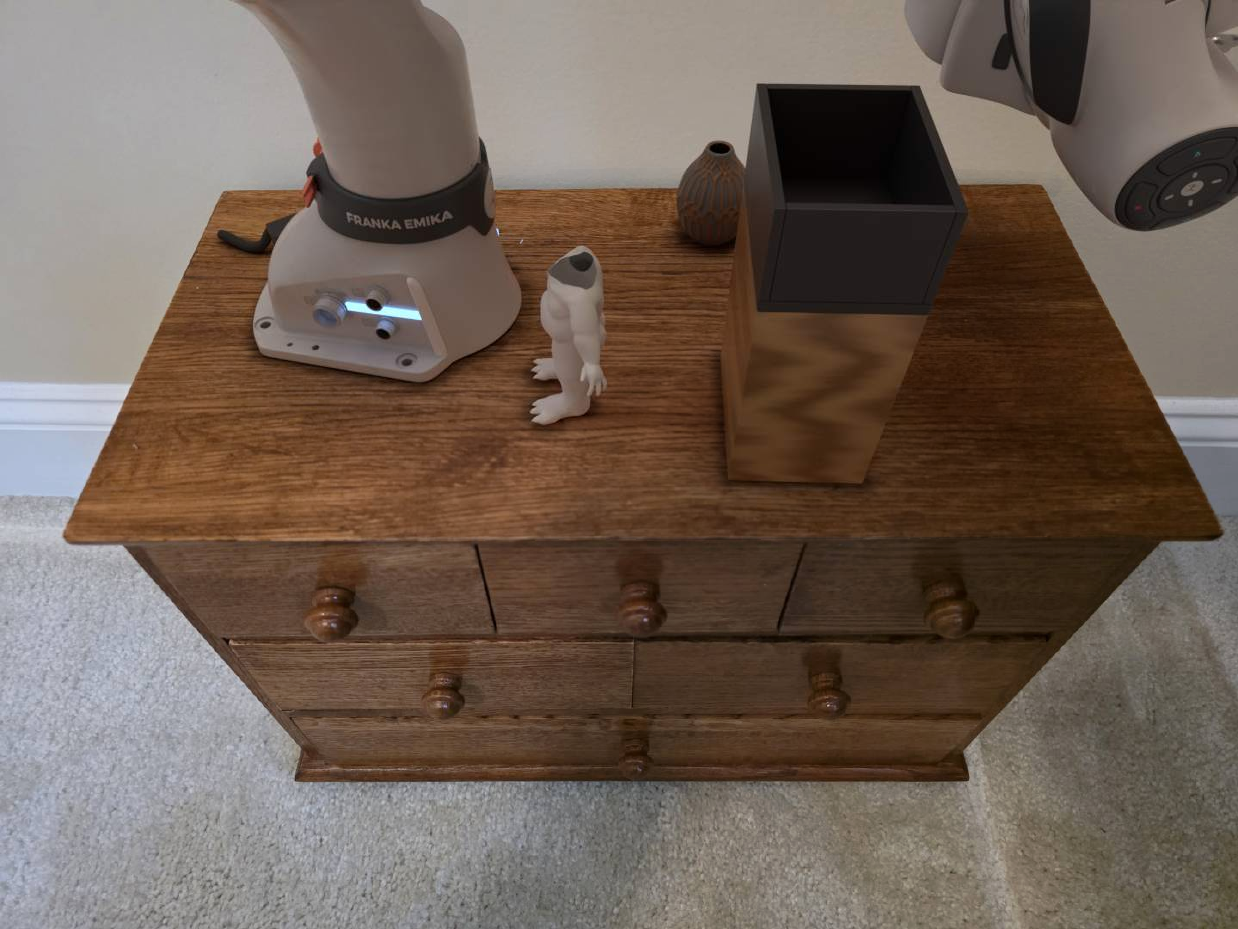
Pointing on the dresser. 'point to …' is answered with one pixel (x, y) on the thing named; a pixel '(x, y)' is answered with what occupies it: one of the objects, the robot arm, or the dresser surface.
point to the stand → (806, 383)
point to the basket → (848, 200)
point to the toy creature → (572, 335)
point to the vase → (712, 195)
